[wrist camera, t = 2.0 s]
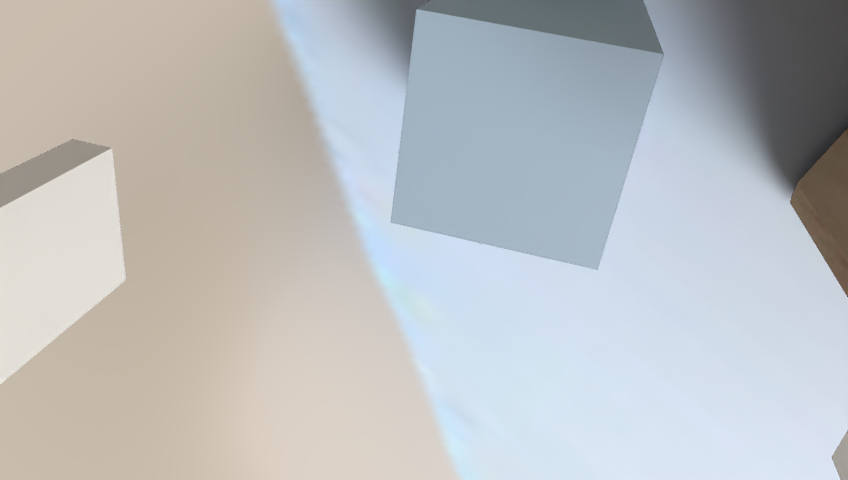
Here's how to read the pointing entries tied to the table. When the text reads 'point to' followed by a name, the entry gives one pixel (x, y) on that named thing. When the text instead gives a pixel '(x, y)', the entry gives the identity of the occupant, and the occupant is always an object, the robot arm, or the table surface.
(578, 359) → the table surface
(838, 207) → the wooden block
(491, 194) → the slate blue block
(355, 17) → the table surface
